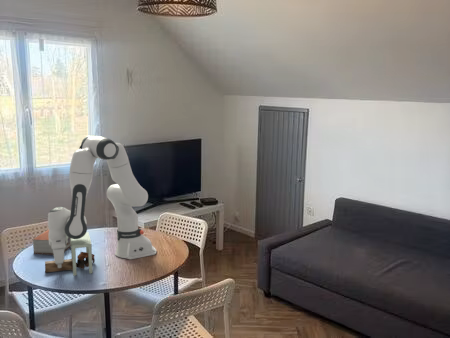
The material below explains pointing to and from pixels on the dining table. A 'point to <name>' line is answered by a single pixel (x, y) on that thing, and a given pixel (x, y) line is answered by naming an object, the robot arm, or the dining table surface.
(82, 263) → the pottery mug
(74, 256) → the footstool
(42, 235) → the model house
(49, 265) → the push stick
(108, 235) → the dining table surface
